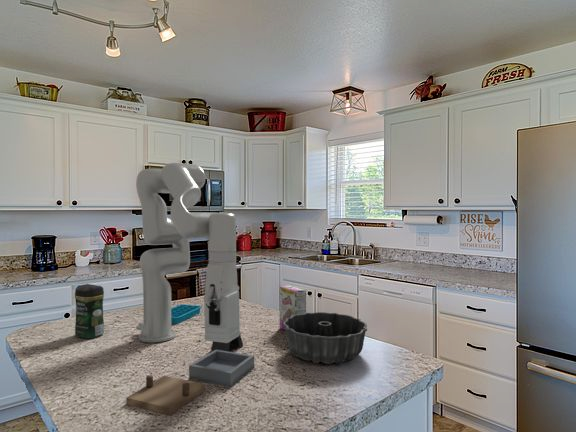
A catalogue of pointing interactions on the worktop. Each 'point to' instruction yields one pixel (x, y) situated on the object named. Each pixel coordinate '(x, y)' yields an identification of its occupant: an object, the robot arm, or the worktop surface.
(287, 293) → the candy bar box
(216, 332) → the supplement box
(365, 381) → the worktop surface
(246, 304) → the worktop surface
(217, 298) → the robot arm
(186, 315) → the ice cube tray
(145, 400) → the peg stand
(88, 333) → the coffee jar
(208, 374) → the tray
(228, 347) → the phone stand
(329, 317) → the bundt pan
